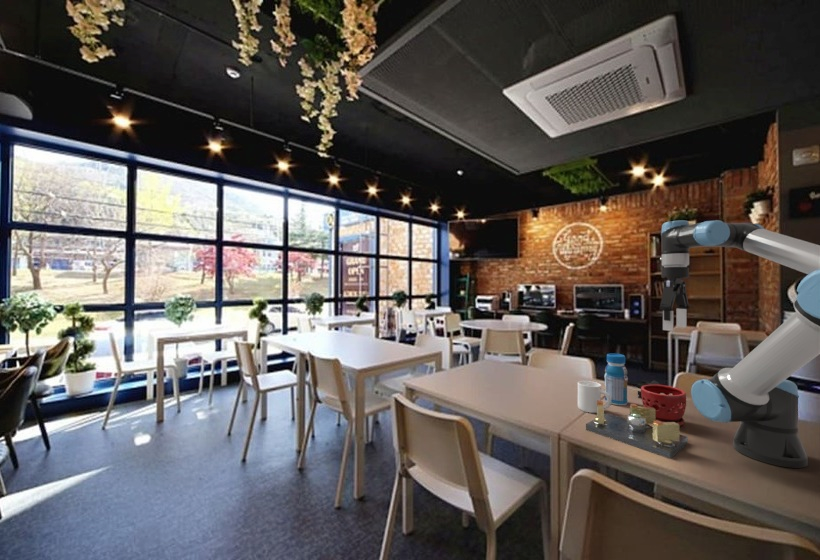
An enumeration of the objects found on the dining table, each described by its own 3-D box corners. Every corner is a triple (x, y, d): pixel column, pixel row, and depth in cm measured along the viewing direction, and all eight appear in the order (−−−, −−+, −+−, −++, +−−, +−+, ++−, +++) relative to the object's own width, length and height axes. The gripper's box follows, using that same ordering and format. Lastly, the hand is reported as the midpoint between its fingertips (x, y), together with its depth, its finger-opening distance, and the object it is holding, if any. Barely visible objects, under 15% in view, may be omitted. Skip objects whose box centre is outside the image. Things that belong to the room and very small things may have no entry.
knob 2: (672, 439, 106) (672, 419, 106) (681, 444, 102) (681, 423, 102) (650, 440, 105) (650, 419, 105) (659, 445, 102) (659, 424, 102)
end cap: (657, 402, 145) (657, 386, 145) (637, 398, 150) (637, 382, 150) (661, 396, 152) (661, 381, 152) (642, 393, 157) (642, 378, 157)
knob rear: (652, 423, 117) (652, 405, 117) (656, 427, 114) (656, 408, 114) (629, 421, 120) (629, 402, 120) (632, 424, 117) (632, 406, 117)
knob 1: (606, 426, 115) (606, 407, 115) (595, 424, 116) (595, 406, 116) (604, 419, 121) (604, 401, 121) (594, 417, 123) (594, 399, 123)
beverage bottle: (611, 406, 140) (611, 357, 140) (600, 398, 149) (600, 352, 149) (632, 406, 140) (632, 357, 140) (620, 399, 149) (620, 352, 149)
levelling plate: (688, 442, 109) (688, 420, 109) (670, 458, 99) (670, 434, 99) (607, 418, 128) (607, 399, 128) (585, 429, 118) (585, 409, 118)
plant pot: (649, 412, 134) (649, 381, 134) (691, 424, 123) (691, 390, 123) (634, 420, 126) (634, 387, 126) (677, 433, 115) (677, 397, 115)
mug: (614, 412, 133) (614, 386, 133) (606, 418, 128) (606, 390, 128) (582, 404, 142) (583, 379, 142) (574, 409, 137) (574, 383, 137)
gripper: (673, 267, 128) (674, 324, 128) (648, 266, 113) (648, 330, 113) (699, 267, 122) (699, 327, 122) (676, 265, 107) (676, 333, 107)
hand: (675, 328), depth 118 cm, fingers open, 13 cm apart
